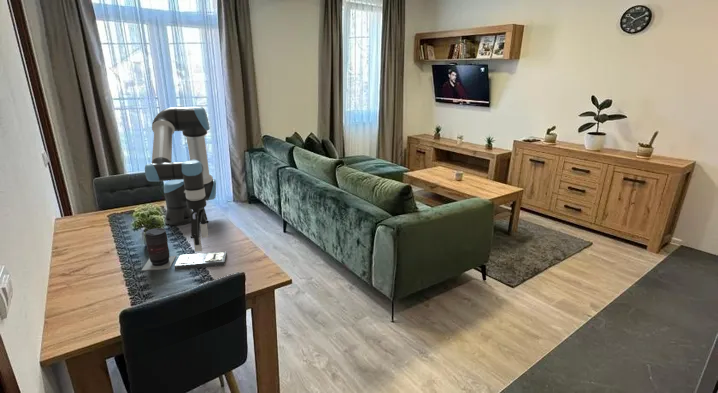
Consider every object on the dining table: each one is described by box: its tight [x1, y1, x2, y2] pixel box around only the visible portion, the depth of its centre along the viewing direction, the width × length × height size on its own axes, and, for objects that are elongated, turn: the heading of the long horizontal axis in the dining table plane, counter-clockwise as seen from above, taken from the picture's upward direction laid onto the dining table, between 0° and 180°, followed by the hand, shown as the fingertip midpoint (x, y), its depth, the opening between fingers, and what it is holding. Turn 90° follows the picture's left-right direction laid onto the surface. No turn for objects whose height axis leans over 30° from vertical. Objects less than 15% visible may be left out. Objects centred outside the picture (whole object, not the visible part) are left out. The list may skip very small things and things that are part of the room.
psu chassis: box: [173, 250, 228, 271], centre depth 164 cm, size 10×20×2 cm, turn 102°
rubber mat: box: [141, 255, 177, 272], centre depth 163 cm, size 11×11×1 cm
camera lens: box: [144, 227, 170, 266], centre depth 160 cm, size 8×8×15 cm
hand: (202, 244), depth 162 cm, fingers open, 13 cm apart
